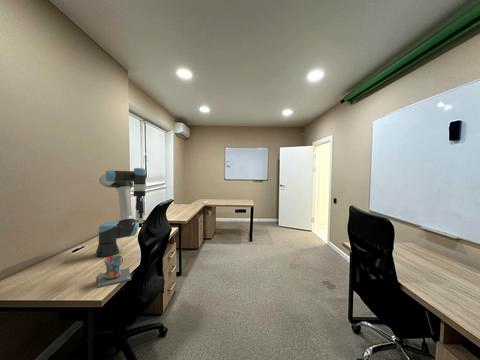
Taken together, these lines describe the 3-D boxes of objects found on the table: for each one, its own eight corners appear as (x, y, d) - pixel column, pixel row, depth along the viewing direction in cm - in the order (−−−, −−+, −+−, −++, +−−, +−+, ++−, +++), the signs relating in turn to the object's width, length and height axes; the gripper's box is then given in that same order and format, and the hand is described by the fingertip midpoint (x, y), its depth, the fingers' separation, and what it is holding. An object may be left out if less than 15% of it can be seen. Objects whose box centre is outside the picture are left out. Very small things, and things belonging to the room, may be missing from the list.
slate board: (98, 275, 126) (98, 273, 126) (128, 269, 134) (128, 268, 134) (97, 287, 112) (97, 285, 112) (131, 280, 121) (131, 278, 121)
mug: (113, 281, 117) (113, 262, 117) (99, 279, 119) (99, 260, 119) (129, 271, 129) (129, 254, 129) (116, 270, 131) (116, 253, 131)
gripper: (131, 189, 154) (131, 218, 154) (135, 191, 133) (135, 225, 133) (142, 189, 158) (142, 217, 158) (148, 191, 137) (148, 224, 137)
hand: (139, 221), depth 145 cm, fingers open, 13 cm apart
